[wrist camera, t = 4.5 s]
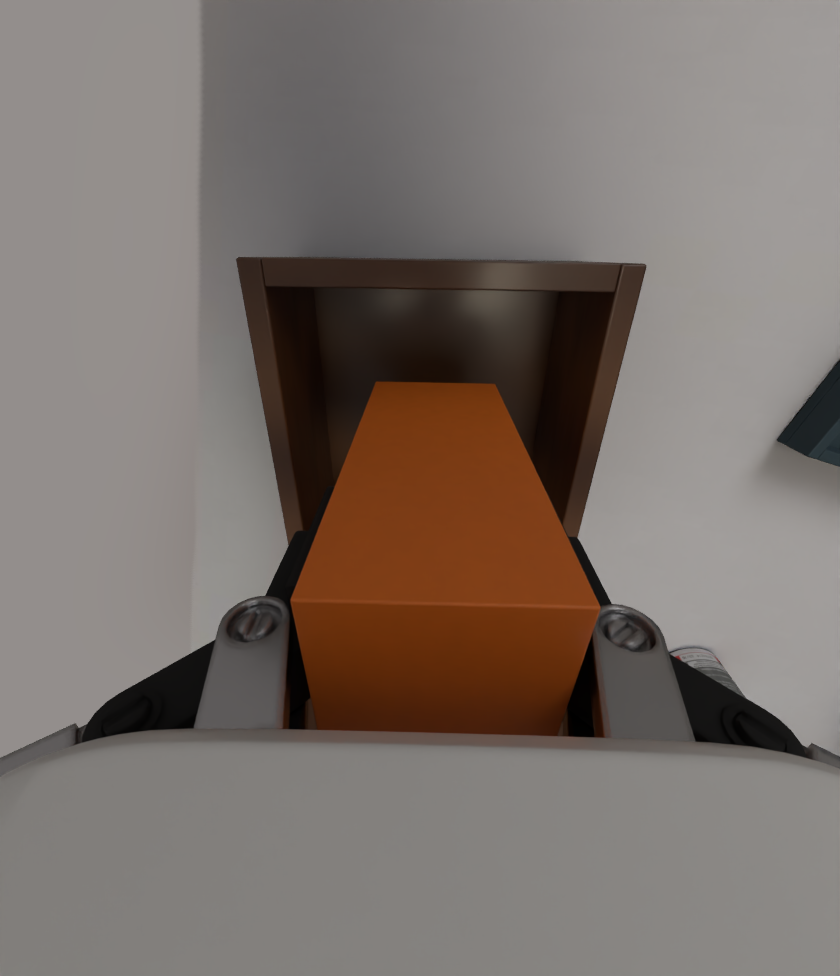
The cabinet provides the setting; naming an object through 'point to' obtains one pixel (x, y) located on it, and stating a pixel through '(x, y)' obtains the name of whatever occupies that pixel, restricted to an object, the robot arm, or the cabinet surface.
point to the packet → (441, 576)
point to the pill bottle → (707, 666)
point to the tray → (818, 423)
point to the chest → (436, 356)
